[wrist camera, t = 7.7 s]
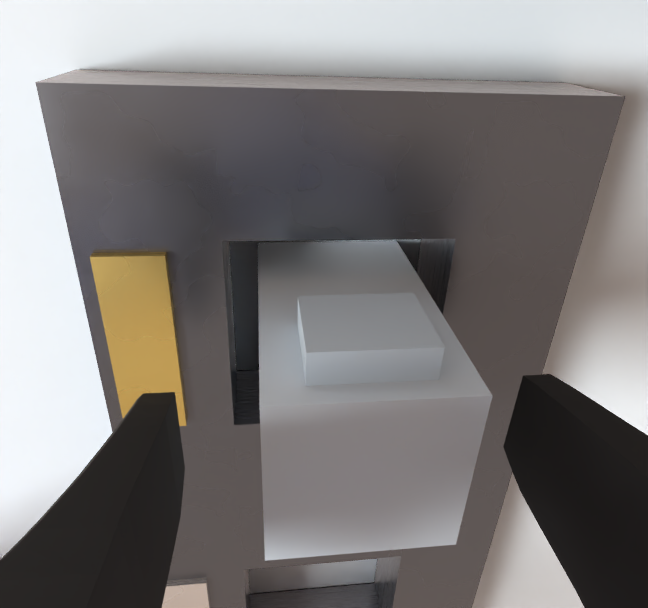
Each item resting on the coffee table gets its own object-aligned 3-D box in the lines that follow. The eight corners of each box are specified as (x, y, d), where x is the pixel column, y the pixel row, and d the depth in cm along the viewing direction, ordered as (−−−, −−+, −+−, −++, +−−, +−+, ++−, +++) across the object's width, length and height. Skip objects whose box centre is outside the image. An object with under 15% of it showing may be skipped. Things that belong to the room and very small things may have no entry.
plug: (261, 358, 16) (265, 560, 10) (257, 218, 14) (258, 372, 8) (383, 354, 17) (455, 544, 11) (399, 217, 15) (500, 362, 9)
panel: (180, 643, 24) (172, 712, 21) (75, 69, 12) (31, 83, 10) (434, 617, 25) (452, 680, 23) (564, 82, 13) (630, 97, 11)
